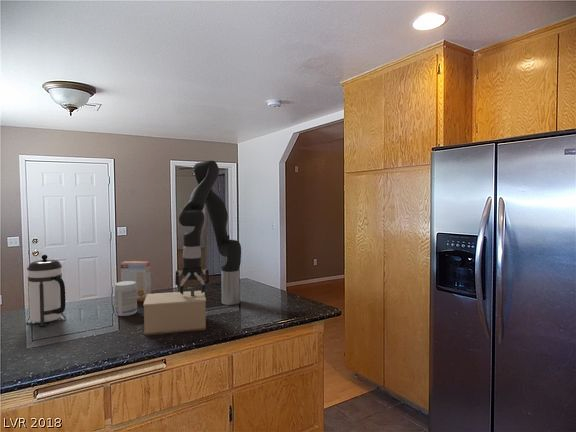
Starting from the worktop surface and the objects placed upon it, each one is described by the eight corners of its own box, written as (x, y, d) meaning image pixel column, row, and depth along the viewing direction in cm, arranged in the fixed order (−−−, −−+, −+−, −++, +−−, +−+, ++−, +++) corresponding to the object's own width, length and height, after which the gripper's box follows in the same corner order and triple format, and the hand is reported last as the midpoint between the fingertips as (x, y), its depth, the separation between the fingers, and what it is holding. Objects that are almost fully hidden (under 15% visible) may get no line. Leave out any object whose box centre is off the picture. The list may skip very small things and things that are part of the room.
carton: (203, 317, 170) (203, 291, 169) (205, 329, 155) (205, 301, 154) (148, 322, 163) (147, 295, 163) (144, 335, 148) (144, 305, 147)
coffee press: (18, 330, 153) (16, 258, 152) (33, 318, 169) (31, 252, 167) (65, 326, 158) (63, 256, 156) (76, 314, 173) (74, 251, 172)
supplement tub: (140, 310, 180) (140, 280, 179) (131, 317, 171) (130, 285, 170) (121, 310, 181) (121, 280, 180) (111, 316, 171) (110, 285, 170)
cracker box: (151, 299, 201) (151, 260, 200) (146, 302, 195) (145, 262, 194) (127, 298, 202) (126, 260, 201) (121, 301, 196) (120, 262, 195)
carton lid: (203, 291, 170) (203, 282, 169) (206, 301, 154) (205, 291, 154) (147, 295, 163) (146, 285, 163) (143, 305, 147) (143, 295, 147)
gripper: (208, 254, 165) (208, 290, 166) (174, 255, 161) (175, 292, 162) (209, 257, 158) (209, 294, 159) (174, 258, 154) (175, 297, 155)
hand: (192, 293), depth 160 cm, fingers open, 8 cm apart
